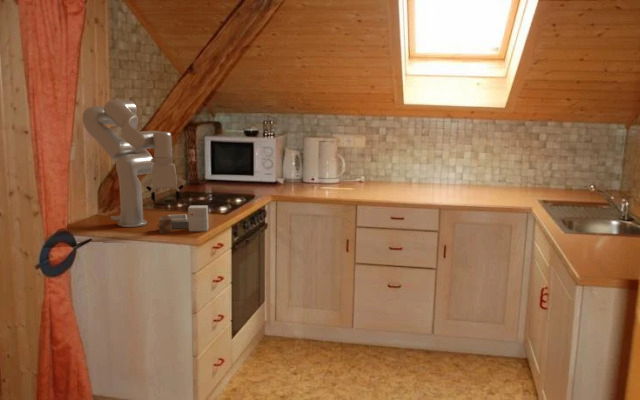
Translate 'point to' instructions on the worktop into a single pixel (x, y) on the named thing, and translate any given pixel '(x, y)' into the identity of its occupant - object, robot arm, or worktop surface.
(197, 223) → the small box
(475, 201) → the worktop surface
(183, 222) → the grey open tray
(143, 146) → the robot arm
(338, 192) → the worktop surface
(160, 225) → the walnut brick
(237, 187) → the worktop surface
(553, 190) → the worktop surface
